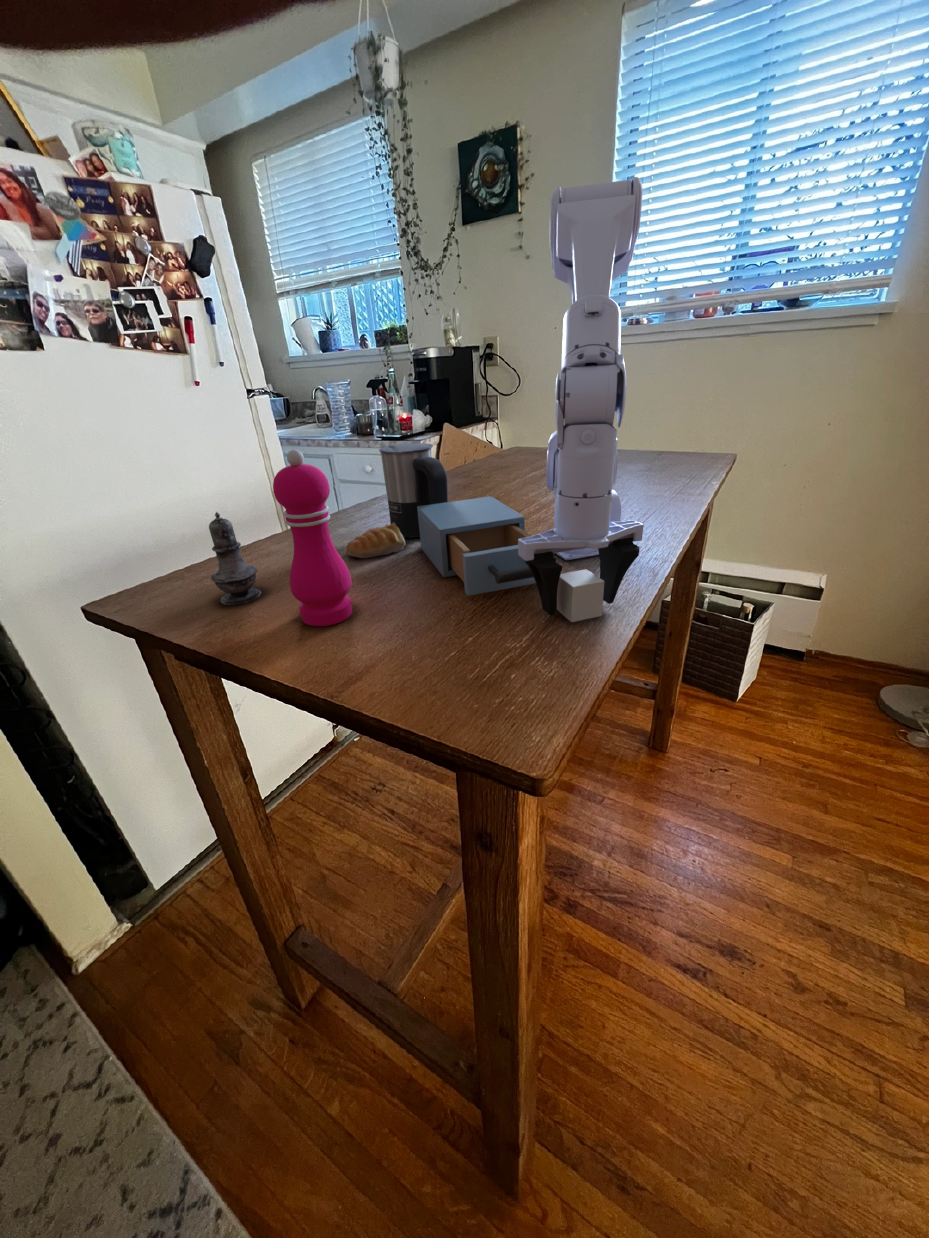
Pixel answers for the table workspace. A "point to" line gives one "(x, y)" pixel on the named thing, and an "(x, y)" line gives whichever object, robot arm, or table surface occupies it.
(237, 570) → the salt shaker
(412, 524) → the milk frother
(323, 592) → the pepper mill
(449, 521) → the cabinet
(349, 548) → the pastry
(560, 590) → the block
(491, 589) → the drawer
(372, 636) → the table surface
